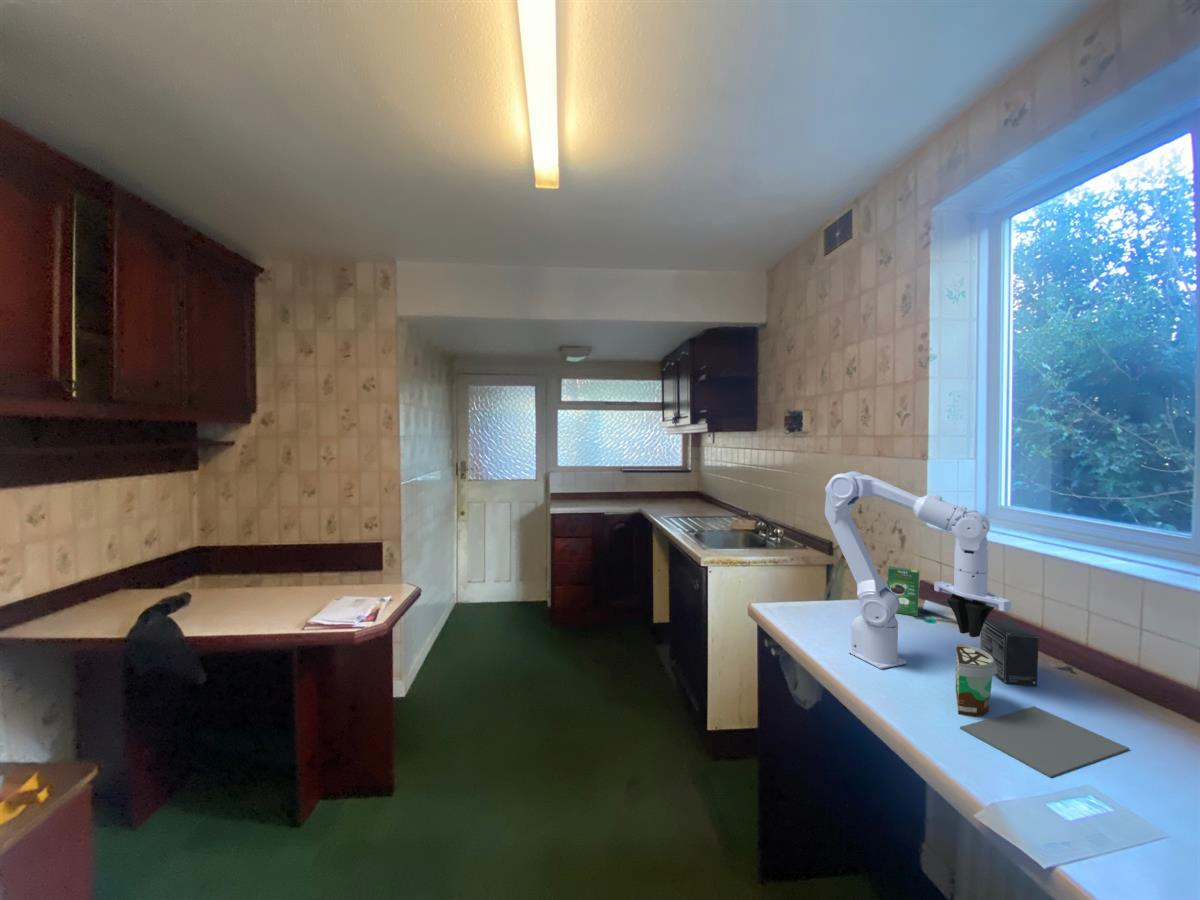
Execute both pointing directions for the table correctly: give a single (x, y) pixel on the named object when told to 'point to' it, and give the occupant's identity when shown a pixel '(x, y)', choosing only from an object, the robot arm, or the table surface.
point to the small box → (1011, 651)
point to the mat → (1044, 740)
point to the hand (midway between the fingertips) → (969, 634)
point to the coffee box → (905, 588)
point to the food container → (973, 680)
